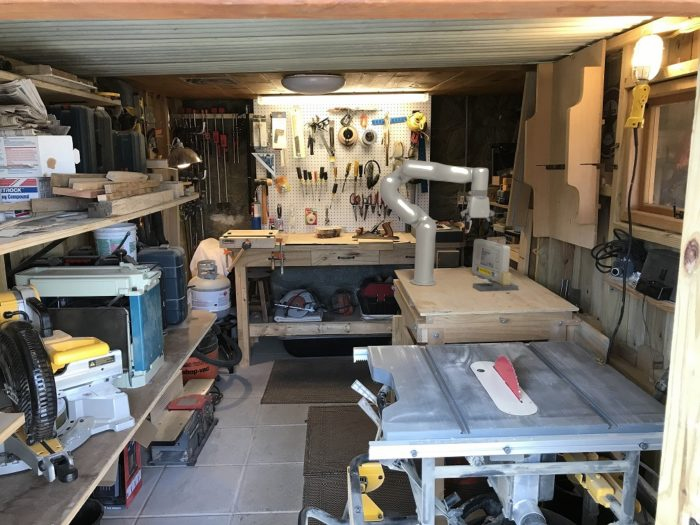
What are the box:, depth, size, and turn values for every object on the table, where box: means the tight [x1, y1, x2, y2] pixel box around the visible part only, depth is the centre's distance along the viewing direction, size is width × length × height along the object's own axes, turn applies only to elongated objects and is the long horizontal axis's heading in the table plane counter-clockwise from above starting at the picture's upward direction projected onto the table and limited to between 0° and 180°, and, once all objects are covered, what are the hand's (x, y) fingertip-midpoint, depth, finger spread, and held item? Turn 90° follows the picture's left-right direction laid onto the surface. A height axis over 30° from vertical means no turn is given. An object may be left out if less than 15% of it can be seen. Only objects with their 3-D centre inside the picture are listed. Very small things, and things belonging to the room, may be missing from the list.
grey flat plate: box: [472, 282, 519, 292], centre depth 266 cm, size 8×20×2 cm, turn 103°
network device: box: [471, 238, 511, 283], centre depth 281 cm, size 26×9×20 cm, turn 22°
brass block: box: [498, 271, 512, 286], centre depth 266 cm, size 4×4×8 cm
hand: (476, 229), depth 264 cm, fingers open, 9 cm apart
